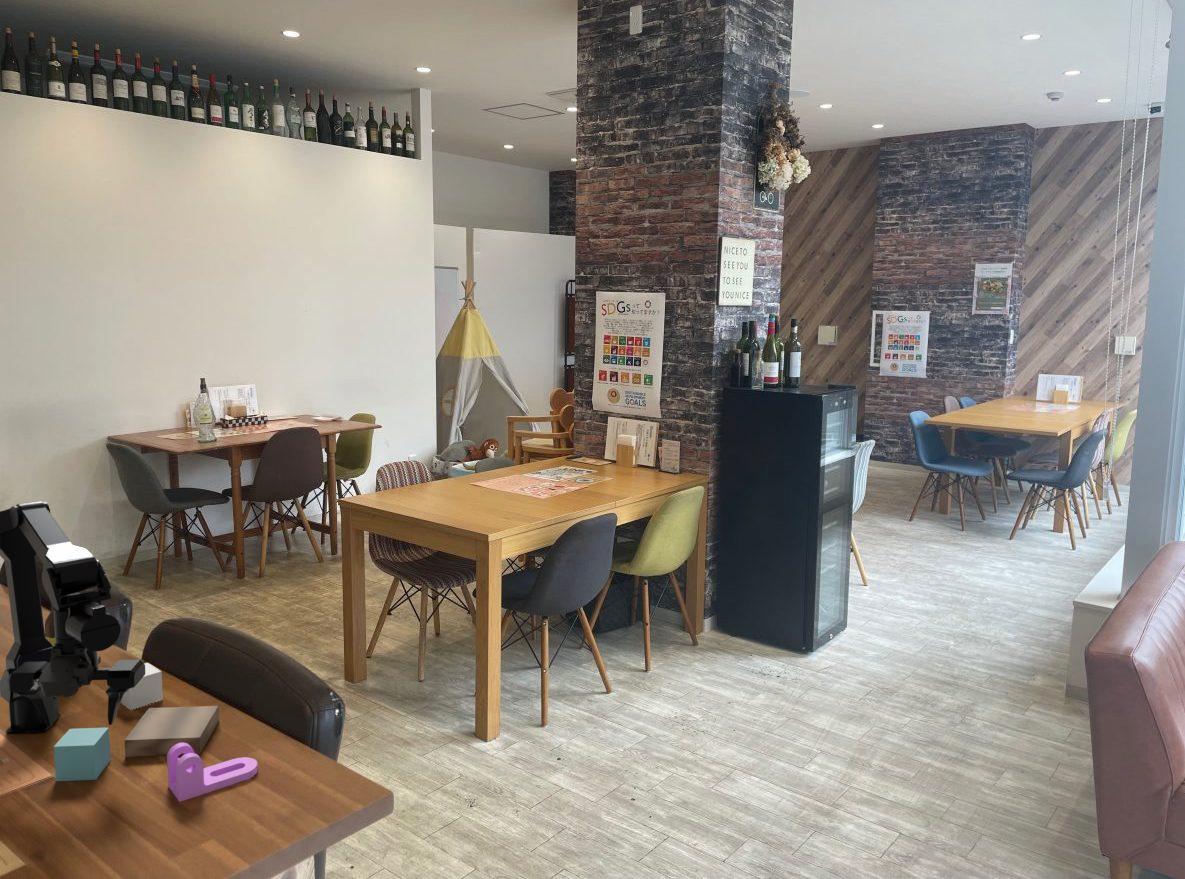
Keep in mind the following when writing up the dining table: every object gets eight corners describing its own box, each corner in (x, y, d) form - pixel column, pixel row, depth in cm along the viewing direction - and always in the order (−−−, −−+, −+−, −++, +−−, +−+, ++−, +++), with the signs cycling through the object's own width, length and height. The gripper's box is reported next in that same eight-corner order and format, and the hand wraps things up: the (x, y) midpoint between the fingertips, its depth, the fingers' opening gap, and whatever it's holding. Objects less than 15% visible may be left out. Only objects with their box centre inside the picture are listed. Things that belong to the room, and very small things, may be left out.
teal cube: (55, 781, 142) (53, 746, 141) (72, 762, 148) (70, 728, 147) (96, 780, 143) (94, 745, 142) (110, 761, 148) (108, 727, 148)
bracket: (179, 802, 137) (177, 760, 136) (168, 787, 141) (166, 746, 140) (262, 775, 146) (261, 735, 145) (250, 761, 150) (248, 723, 149)
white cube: (117, 701, 170) (115, 671, 169) (149, 691, 175) (147, 662, 174) (130, 710, 166) (129, 680, 165) (162, 700, 171) (161, 671, 170)
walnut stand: (125, 756, 150) (124, 740, 149) (149, 723, 161) (149, 708, 161) (200, 753, 152) (199, 737, 151) (218, 721, 163) (218, 705, 163)
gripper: (-15, 654, 132) (-8, 752, 135) (119, 651, 135) (123, 747, 137) (21, 627, 143) (27, 718, 146) (144, 625, 146) (148, 714, 148)
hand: (80, 724), depth 144 cm, fingers open, 9 cm apart
